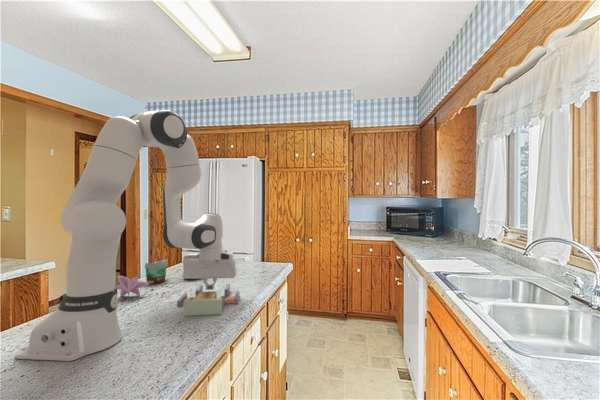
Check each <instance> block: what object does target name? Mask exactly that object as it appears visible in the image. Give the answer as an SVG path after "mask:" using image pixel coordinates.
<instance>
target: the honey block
mask: <svg viewBox="0 0 600 400" xmlns="http://www.w3.org/2000/svg"><path fill="white" fill-rule="evenodd" d="M217 292H218V291H203V292H200V293H199V294H198V295H197V297H196V296H195V297H196V298H195V299H218V298H217Z"/></svg>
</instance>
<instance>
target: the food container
mask: <svg viewBox="0 0 600 400" xmlns="http://www.w3.org/2000/svg"><path fill="white" fill-rule="evenodd" d="M168 262H169V261H168V259H167V258H164V257H163V258H161V260H158V261H153V262H149V263H147V262H145V264H144V269H145V276H146V282H147V283H149V284H153V285H158V284H159V283H160V284H163V283H165V282H166V276H167V274H166V273H167V265H169V263H168ZM160 284H159V285H160Z"/></svg>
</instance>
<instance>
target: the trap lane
mask: <svg viewBox="0 0 600 400" xmlns="http://www.w3.org/2000/svg"><path fill="white" fill-rule="evenodd" d="M230 285H231V284H230V283H226V285H225V287H224V295H221V297H220V298H217V299H195V298H196V297H197V295H198V294H199V293H200V292H204V291H203V288H204V287H203V284H199V285H198V287H197V288H196V289H195V296H190V297H188V292H183V293H182V295H180V297H178V299H177V304H176V305H177V307H182V306H183V316H210V315H222V313H223V311H224V308H225V305H229V304H230V305H233V304H234V305H238V302H239V299H240V291H238V290H237V291H236V292H235V294H234V295H229V294H230V292H231V291H230V289H231V287H230Z"/></svg>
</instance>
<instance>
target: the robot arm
mask: <svg viewBox="0 0 600 400" xmlns="http://www.w3.org/2000/svg"><path fill="white" fill-rule="evenodd" d="M151 147H153V148H159V149H160V150H161V152H162V153H163V156H164V161H165V167H166V168H165V170H166V178H165V179H166V181H165V182H164V184H163V187H162V203H163V207H162V208H163V231H162V238H163V242H164V244H165V245H166V246H167V247H168V248H170V249H189V250H198V253H195V254H190V253H189V254H187V255H184V257H183V258H182V264H184V268H182V269H183V270H182V278H183V279H184V278H185V279H197V280H201V279H202V283H203V284H204V285H205V290H206V291H208V290H209V291H210V290H213V291H214V290H215V284H216V282H217V281H218V279H235V278H236V276H237V273H238V272H237V263H236V259H235V258H234V256H235V255H234V252H233V251H230V250H226V249H223V243H222V238H223V237H224V235H223V231H224V230H223V229H224V228H223V220H222V217H221V215H219V214H217V213H211V212H203V213H202V214H201V215H200V218H198V219H197V220H194V222H188V221H183V220H182V211H181V210H182V209H181V207H182V206H181V200H182V196H183V195H185V193H188V192H190V191H191V190H192V189H194V188H195V187H196V186H197V185H198V184H199V183H200V181H201V177H202V171H201V170H202V169H201V166H200V165H201V164H200V159H199V155H198V150H197V147H196V144H195V142H194V139H193V137H192V136H191V135H190V134H188V131H187V128H186V125H185V122H184V120H183V118H182V117H181V116H180V114H178V113H177V112H175V111H173V110H169V109H160V110H149V111H145V112H141V113H137V114H134V115H132V116H131V117H129V118H128V117H125V116H121V115H120V116H112V117H110V118H109V119H107V121H106V122H105V124H104V125H103V127H102V128H101V129H100V132H99V134H98V135H97V137H96V140H95V142H94V143H93V146H92V148H91V149H92V150H91V151H90V155H89V158H88V160H87V163H86V165H85V167H84V170H83V171H82V172H83V173H82V175H81V176H80V178H79V179H78V182H77V184H76V185H75V187H74V189H73V191H72V193H71V195H70V197H69V198H68V200H67V202H66V204H65V207H64V208H63V210H62V212H61V215H60V223H61V226H62V228H63V230H64V231H65V232H66V233H67V234H69V235H70V236H71V244H70V249H69V255H68V259H67V262H66V265H65V266H66V267H65V270H66V271H65V275H66V276H65V282H66V283H65V293H63V294H61V295H60V296H59V297H57V298H55V299H54V303H53V304H58V303H59V305H58V307H57V308H56V309H55V310H54V311H53V312H51V313H50V314H48V316H46V317H45V318H44V319H43V320H41V321H40V322H38V323H37V324H36V325H35V326H34V327H33V328H32V330H31V331H30V332H31V333H30V336H29V339H28V342H27V343H25V344H24V345H23V346H22V347H20V348H19V349H18V350H17V352H16V355H15V359H20V360H36V361H37V360H39V361H41V360H43V361H56V362H57V361H59V362H62V361H63V362H72V361H75V360H77V359H80V358H82V357H85V356H87V355H90V354H94V353H97V352H100V351H103V350H106V349H108V348H111V347H112V346H114V345H116V344H117V343H118V342H119V341H121V340H122V338H123V334H122V332H121V328H120V325H119V320H118V313H117V307H118V303H119V302H118V301H119V300H118V299H119V297H118V289H117V287H116V285H117V284H116V283H117V281H116V276H117V275H116V274H117V273H116V272H117V270H116V269H117V268H116V267H117V266H116V265H117V257H118V251H119V246H120V243H121V241H120V240H121V238H122V233H123V232H124V231H125V228H126V226H127V218H126V215H125V212H124V211H123V210H122V209H121V208H120V207H119V206H118V205H117V203H118V201H119V199H120V198H121V196H122V194H123V193H124V191H126V189H127V188H128V187H129V184H130V182H131V179H132V176H133V174H134V170H135V167H136V164H137V160H138V158H139V155H140V154H139V153H140V151H141V150H142V148H151ZM185 279H184V280H185ZM208 279H212V283H211V284H210V283H209V282H208Z"/></svg>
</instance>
